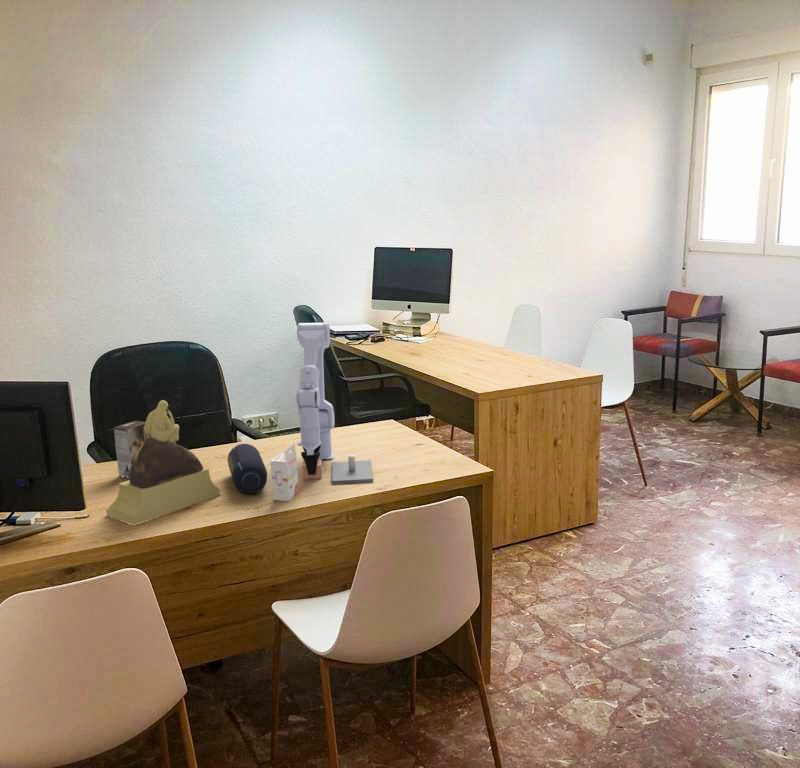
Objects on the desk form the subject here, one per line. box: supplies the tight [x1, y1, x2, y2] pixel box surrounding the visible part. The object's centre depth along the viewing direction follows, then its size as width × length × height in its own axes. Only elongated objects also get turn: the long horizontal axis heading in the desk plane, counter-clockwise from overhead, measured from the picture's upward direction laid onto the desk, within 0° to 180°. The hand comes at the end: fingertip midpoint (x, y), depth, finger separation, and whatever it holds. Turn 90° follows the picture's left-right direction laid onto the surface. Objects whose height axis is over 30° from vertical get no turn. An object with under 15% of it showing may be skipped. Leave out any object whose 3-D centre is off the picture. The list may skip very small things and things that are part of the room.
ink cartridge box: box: [269, 442, 300, 502], centre depth 233 cm, size 9×5×15 cm, turn 168°
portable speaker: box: [227, 443, 268, 495], centre depth 246 cm, size 25×10×10 cm, turn 16°
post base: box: [331, 454, 374, 485], centre depth 252 cm, size 18×12×6 cm, turn 4°
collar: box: [301, 460, 323, 480], centre depth 251 cm, size 6×6×4 cm
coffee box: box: [112, 420, 151, 479], centre depth 257 cm, size 9×6×16 cm
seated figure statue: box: [105, 399, 221, 526], centre depth 228 cm, size 28×13×30 cm, turn 141°
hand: (312, 471), depth 251 cm, fingers closed on collar, 6 cm apart
